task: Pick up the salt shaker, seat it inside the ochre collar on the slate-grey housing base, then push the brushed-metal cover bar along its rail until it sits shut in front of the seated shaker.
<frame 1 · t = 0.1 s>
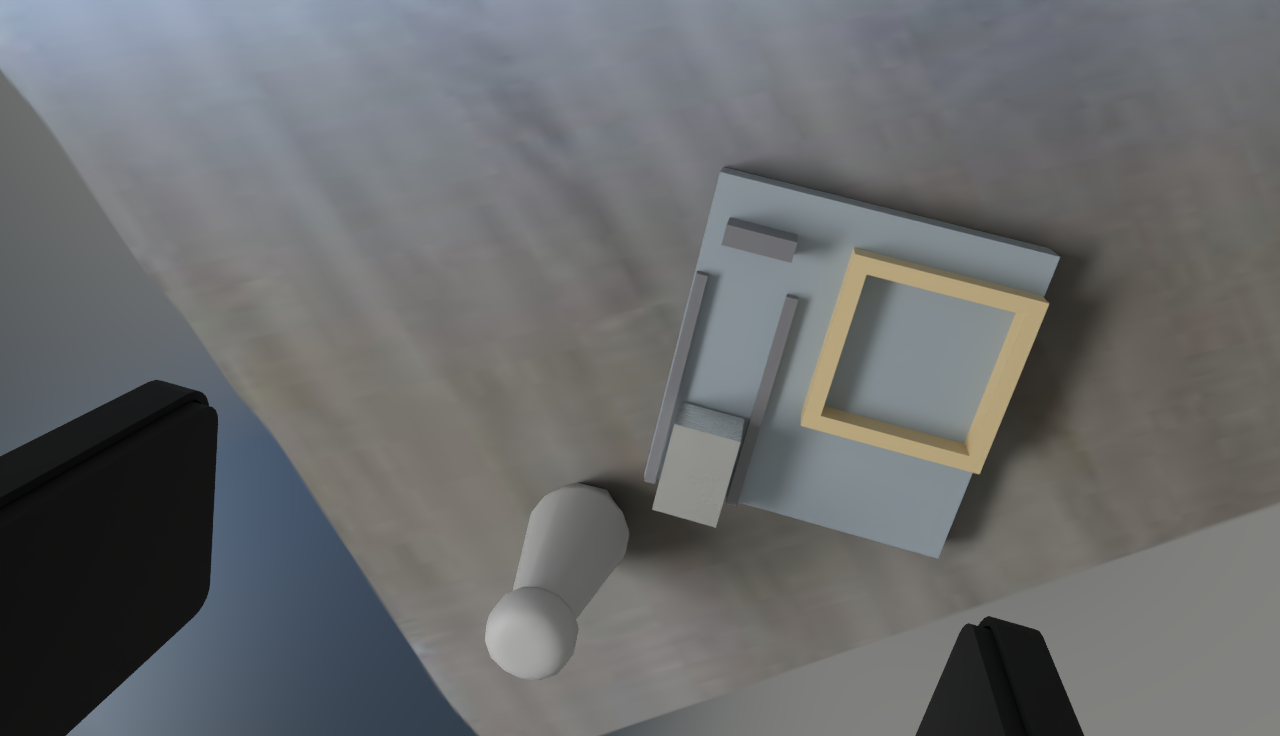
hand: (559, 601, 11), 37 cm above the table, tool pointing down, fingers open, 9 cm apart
housing base: (833, 362, 47), on the table
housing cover: (698, 463, 46), point 4 cm above the table, slide at 0.0 cm
salt shaker: (588, 511, 53), on the table
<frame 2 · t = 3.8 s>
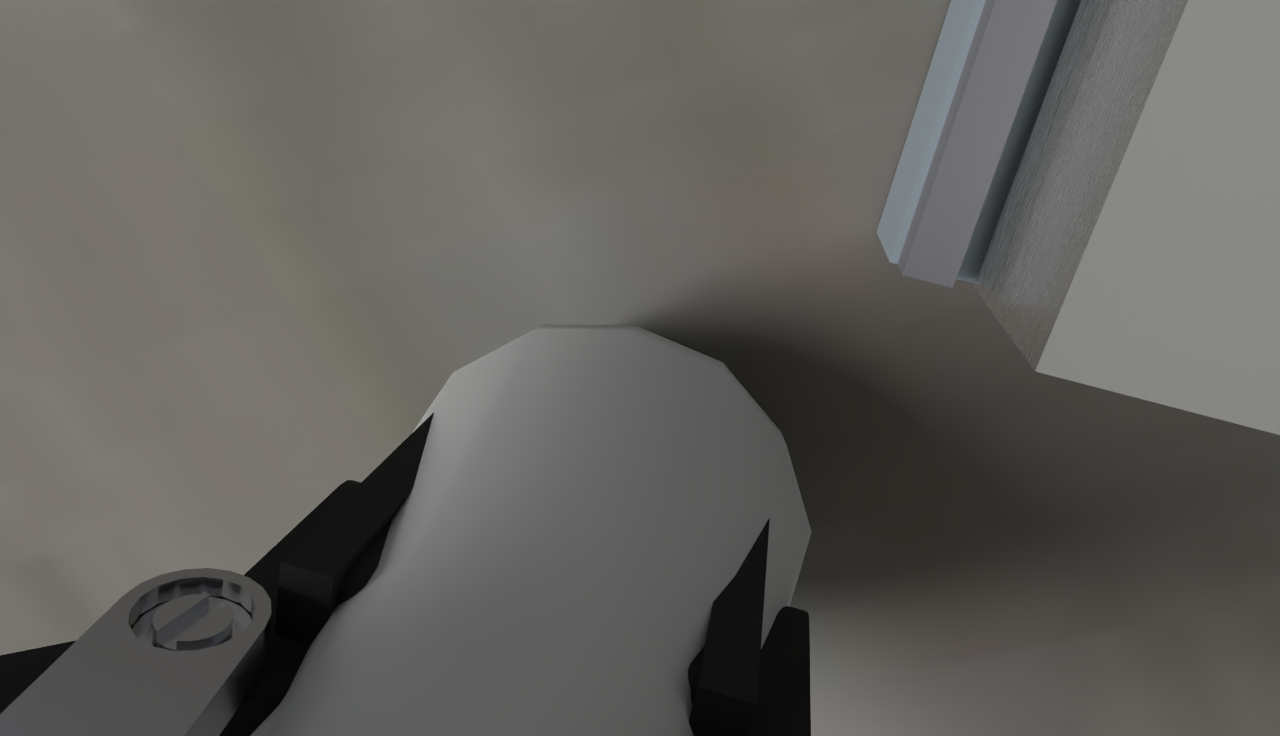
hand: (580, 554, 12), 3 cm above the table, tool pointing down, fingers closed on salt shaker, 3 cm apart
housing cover: (1279, 120, 8), point 4 cm above the table, slide at 0.0 cm
salt shaker: (630, 447, 15), on the table, touching gripper
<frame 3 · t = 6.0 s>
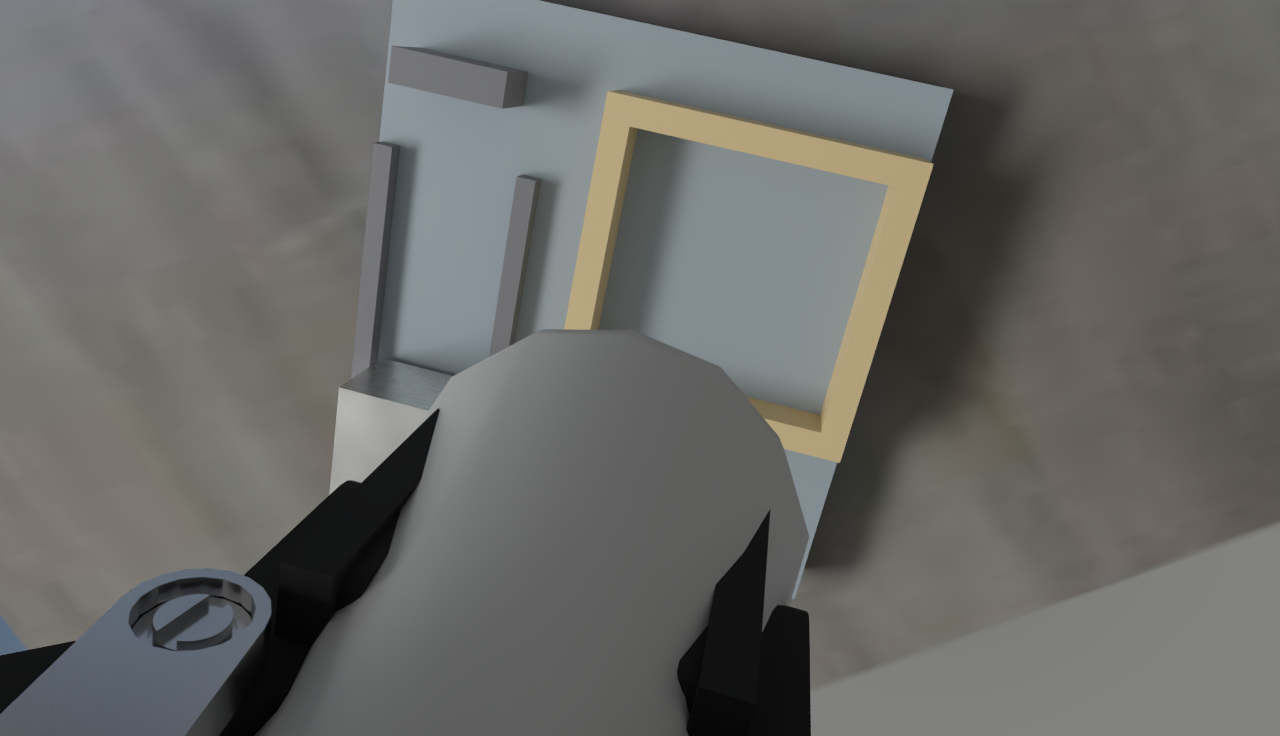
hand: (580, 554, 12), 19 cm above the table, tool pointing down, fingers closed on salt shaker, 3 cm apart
housing base: (622, 293, 30), on the table
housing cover: (403, 454, 29), point 4 cm above the table, slide at 0.0 cm
salt shaker: (629, 451, 15), point 15 cm above the table, touching gripper
when the fingers open (7 cm above the table, at t = 8.7 s): salt shaker drops 1 cm, resting on housing base.
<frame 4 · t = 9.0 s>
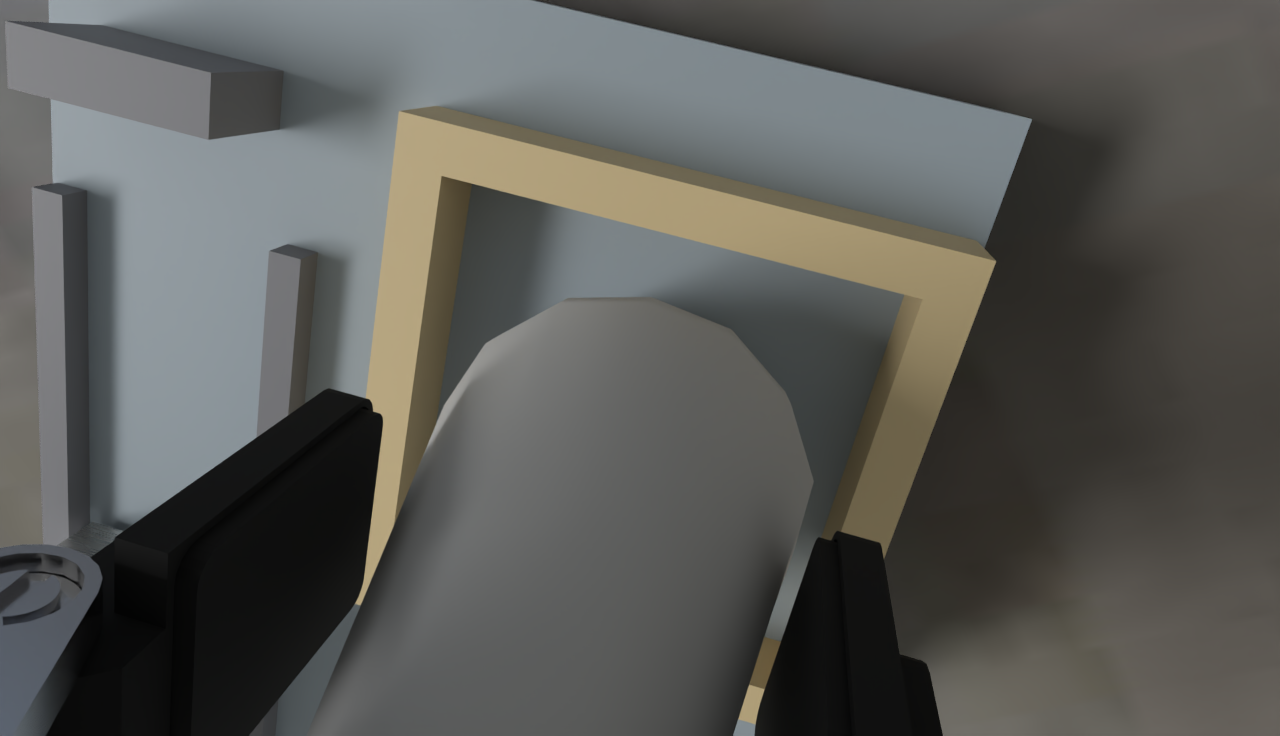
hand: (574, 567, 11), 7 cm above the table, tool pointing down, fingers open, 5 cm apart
housing base: (478, 423, 19), on the table
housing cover: (114, 684, 18), point 4 cm above the table, slide at 0.0 cm
salt shaker: (644, 408, 16), point 2 cm above the table, touching housing base
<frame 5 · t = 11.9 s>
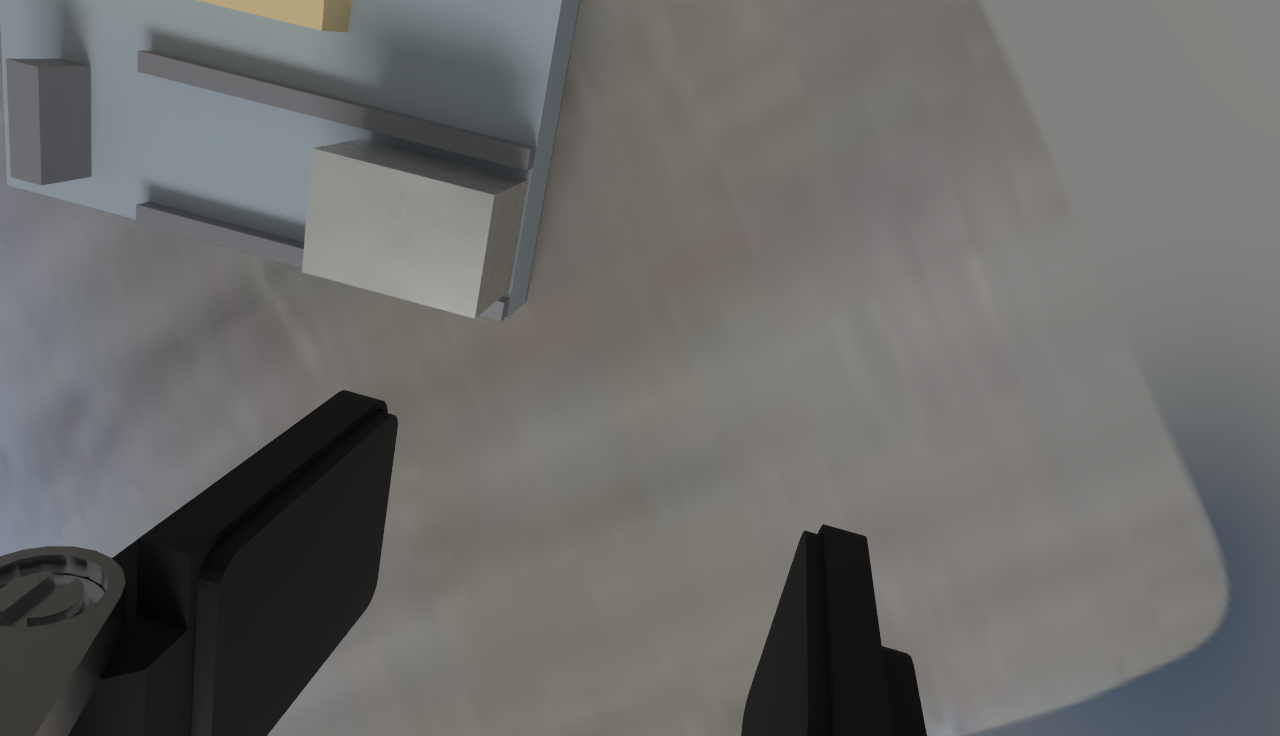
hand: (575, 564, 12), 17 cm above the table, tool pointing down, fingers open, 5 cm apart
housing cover: (417, 224, 25), point 4 cm above the table, slide at 0.0 cm
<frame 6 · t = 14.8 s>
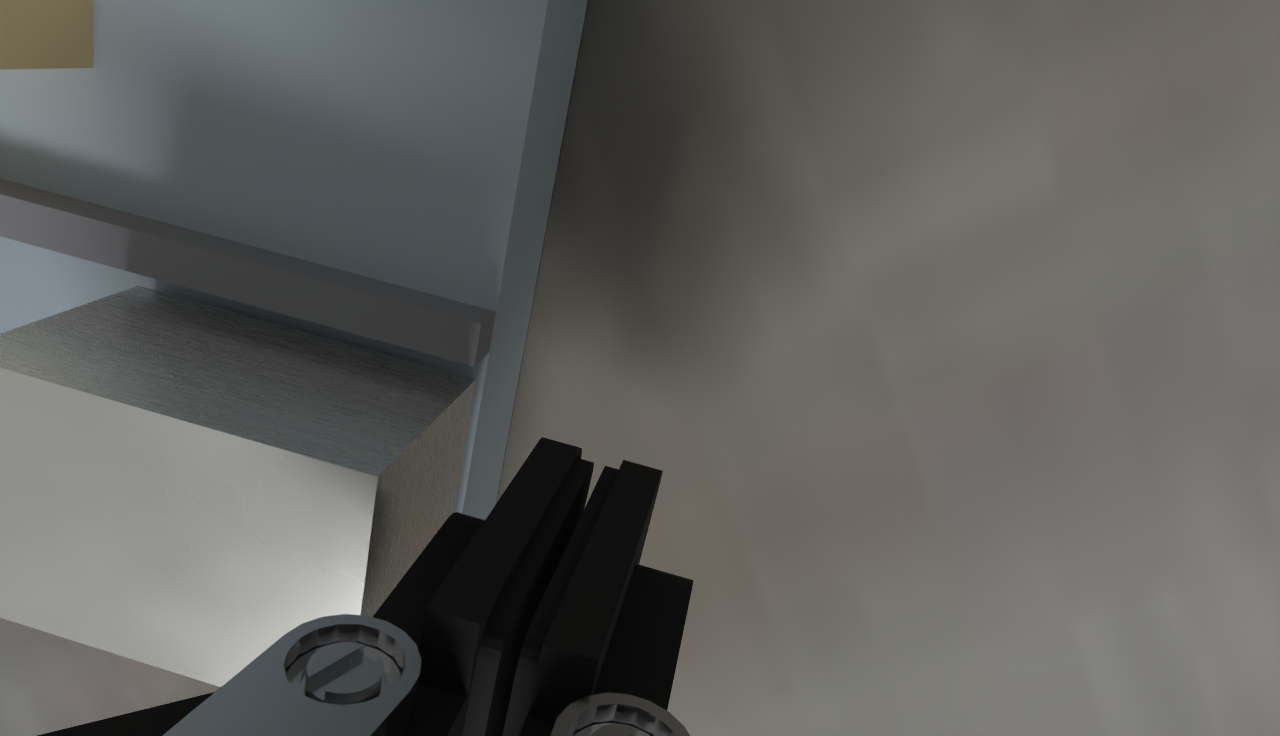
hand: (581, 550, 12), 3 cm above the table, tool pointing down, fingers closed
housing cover: (233, 486, 11), point 4 cm above the table, slide at 0.0 cm, touching gripper
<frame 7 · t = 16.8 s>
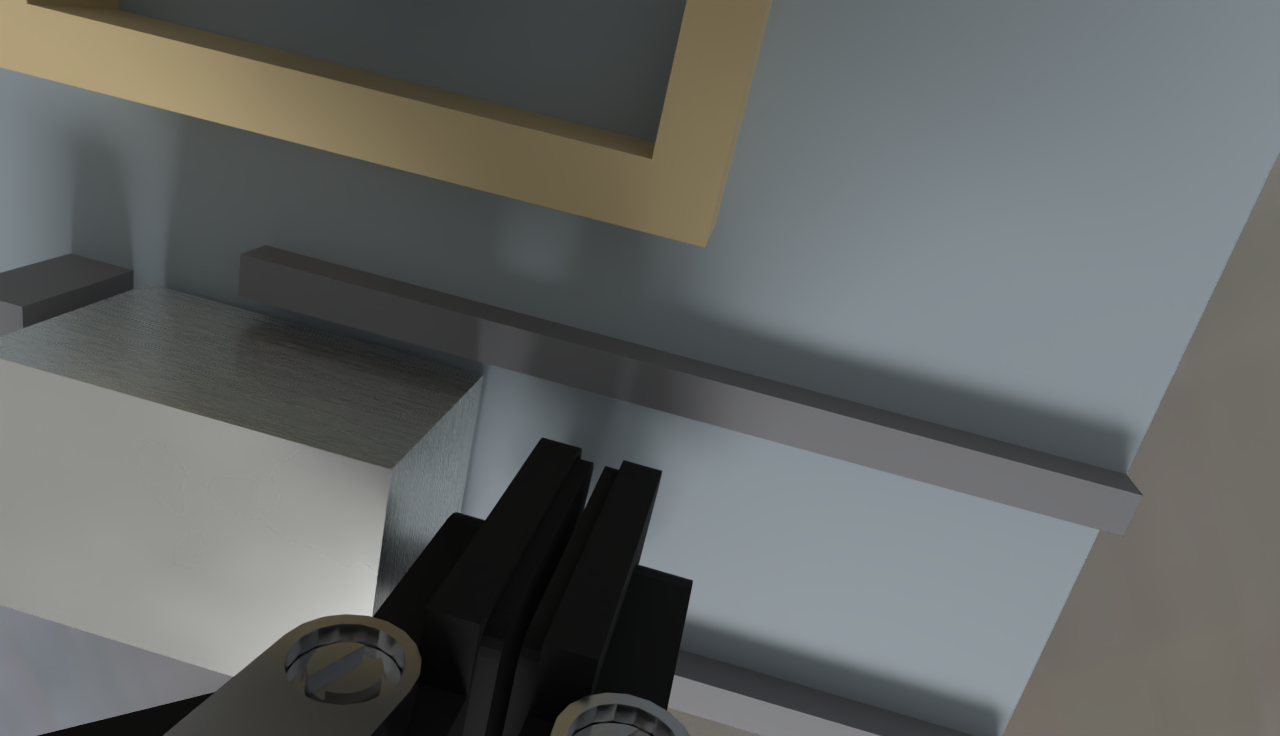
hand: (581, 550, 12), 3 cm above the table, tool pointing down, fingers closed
housing base: (576, 87, 13), on the table
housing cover: (245, 481, 12), point 4 cm above the table, slide at 8.5 cm, touching gripper
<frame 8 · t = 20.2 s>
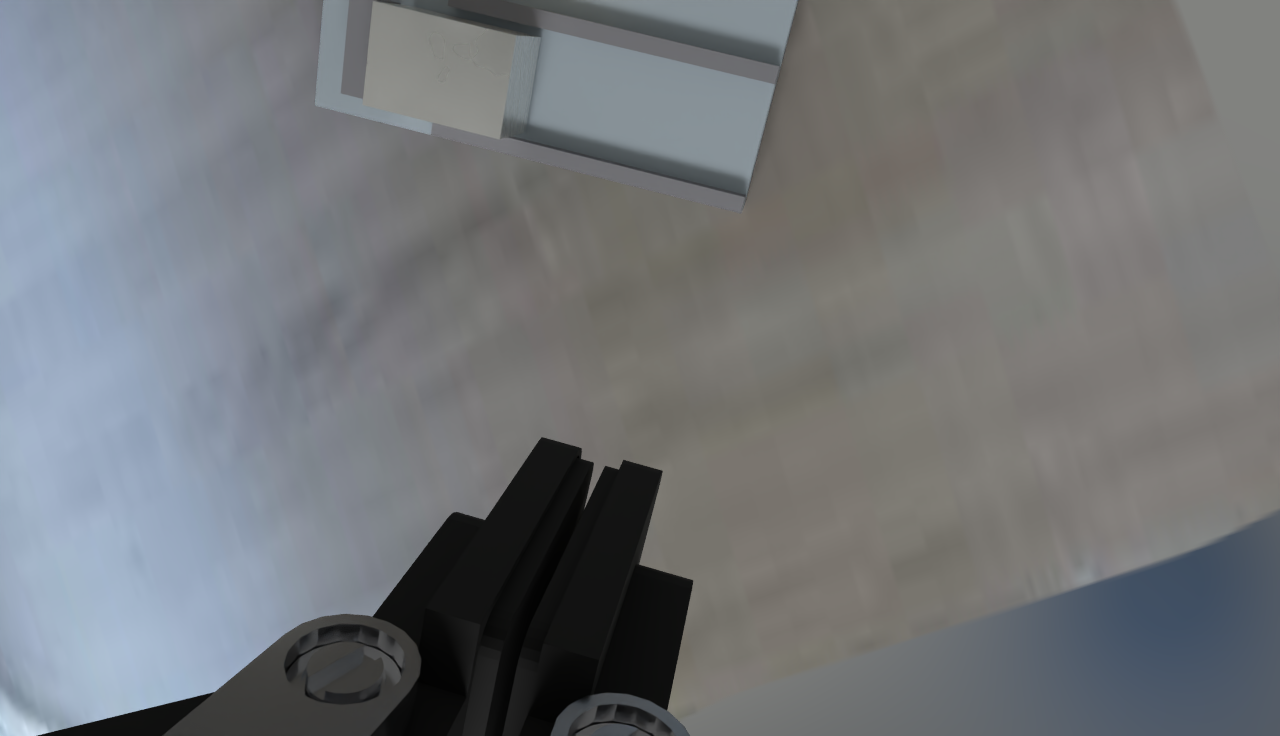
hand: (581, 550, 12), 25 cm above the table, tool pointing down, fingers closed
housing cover: (453, 70, 31), point 4 cm above the table, slide at 8.5 cm
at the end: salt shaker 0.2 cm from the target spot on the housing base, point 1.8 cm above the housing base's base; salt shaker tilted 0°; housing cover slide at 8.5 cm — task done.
